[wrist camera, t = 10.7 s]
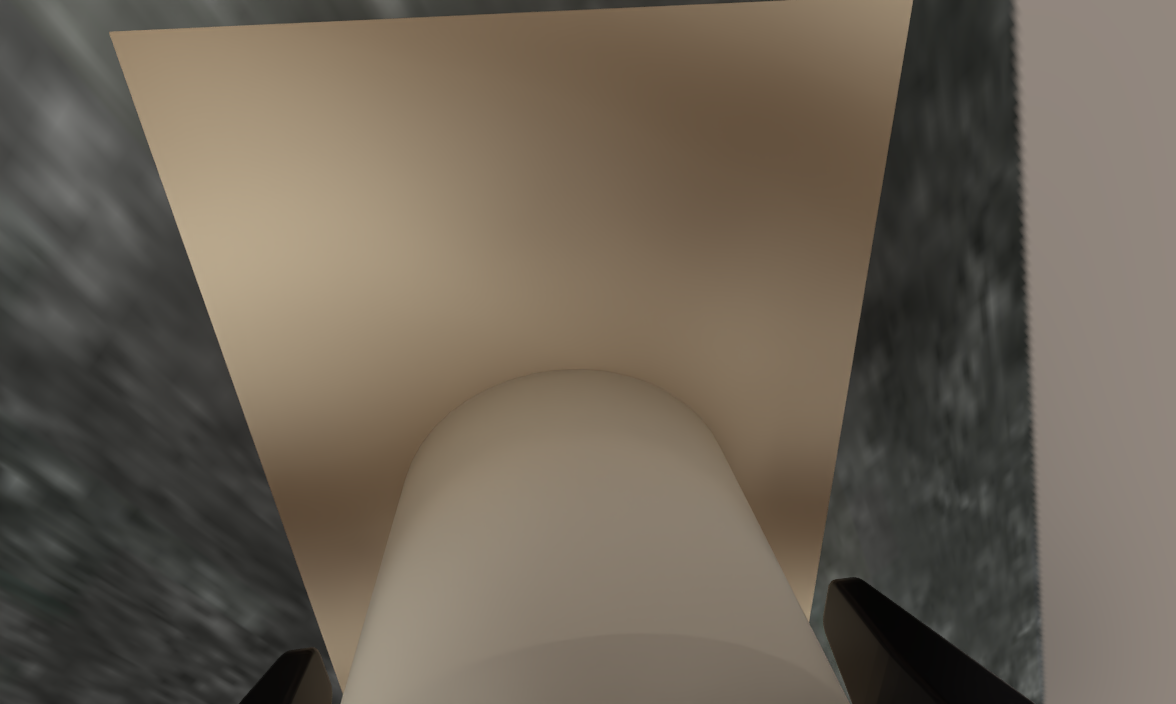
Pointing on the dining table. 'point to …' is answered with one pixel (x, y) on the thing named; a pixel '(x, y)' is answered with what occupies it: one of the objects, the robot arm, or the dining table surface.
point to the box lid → (526, 236)
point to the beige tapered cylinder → (581, 562)
